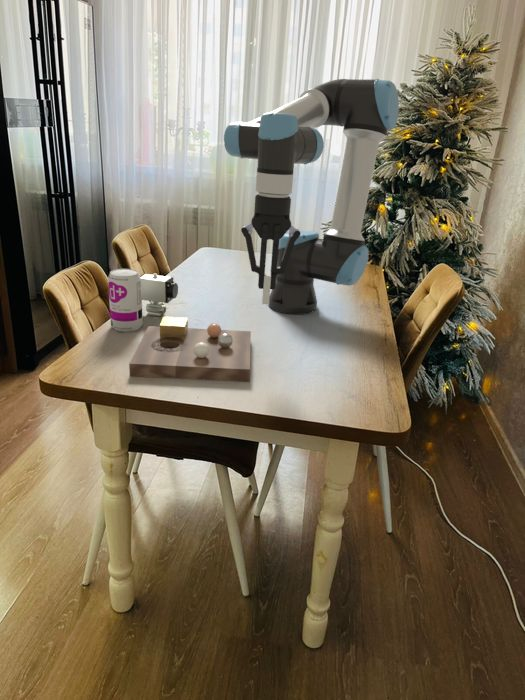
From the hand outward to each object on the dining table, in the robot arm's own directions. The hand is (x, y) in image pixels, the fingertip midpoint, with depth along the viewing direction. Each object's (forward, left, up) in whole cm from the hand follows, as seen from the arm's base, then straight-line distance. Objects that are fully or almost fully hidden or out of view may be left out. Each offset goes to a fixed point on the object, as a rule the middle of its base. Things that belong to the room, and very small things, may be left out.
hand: (265, 302), depth 115 cm
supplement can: (+36, -17, -15) cm, 42 cm away
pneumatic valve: (+30, -28, -15) cm, 44 cm away
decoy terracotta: (+12, -6, -10) cm, 17 cm away
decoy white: (+14, +6, -10) cm, 18 cm away
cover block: (+22, -8, -12) cm, 26 cm away
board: (+16, 0, -15) cm, 22 cm away
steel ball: (+9, 0, -10) cm, 13 cm away
